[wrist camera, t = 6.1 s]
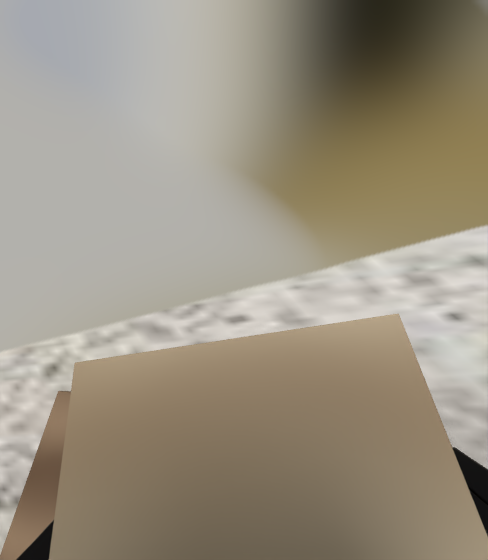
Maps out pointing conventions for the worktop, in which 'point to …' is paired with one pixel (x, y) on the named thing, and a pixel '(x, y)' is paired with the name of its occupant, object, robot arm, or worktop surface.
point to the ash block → (263, 453)
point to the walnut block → (40, 484)
